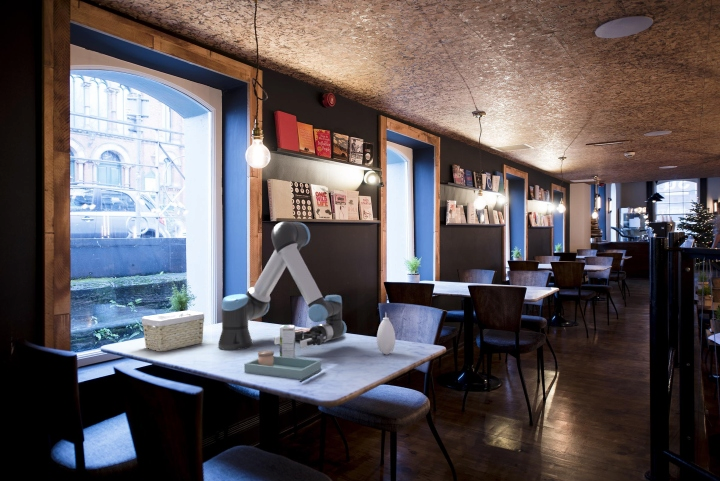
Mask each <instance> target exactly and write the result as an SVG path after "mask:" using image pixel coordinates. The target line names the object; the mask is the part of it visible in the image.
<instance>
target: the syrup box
mask: <svg viewBox="0 0 720 481" xmlns="http://www.w3.org/2000/svg"><path fill="white" fill-rule="evenodd" d="M295 329H296V325H294V324H283V325H280V327H279V336H280V343H279V356H281V357H290V358H296V340H295Z"/></svg>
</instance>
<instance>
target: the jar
mask: <svg viewBox="0 0 720 481" xmlns="http://www.w3.org/2000/svg"><path fill="white" fill-rule="evenodd" d="M257 356H258V358H257V359H258V362H259V365H264V366H273V367H274V364H273V356H275V352H274V351H273V350H261V351H258V352H257Z"/></svg>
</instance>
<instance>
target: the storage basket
mask: <svg viewBox="0 0 720 481" xmlns="http://www.w3.org/2000/svg"><path fill="white" fill-rule="evenodd" d="M204 323H205V313H204V312H200V311H199V312H198V311H194V310H193V311H192V310H183V311H182V310H181V311H176V312H175V311H174V312H169V313H161V314H154V315H146V316H145V315H144V316H142V317H141V325H142V327H143V328H142V329H143V336H144V344H145V348H146V349H148V348H149V350H153V351H155V350H156V352H168V351H170V350H176V349H179V348H180V349H181V348H184V347H185V348H186V347H189V346H194V345H198V344H202V343H203V340H204V339H203V338H204V336H203V335H204Z"/></svg>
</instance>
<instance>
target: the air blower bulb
mask: <svg viewBox="0 0 720 481" xmlns="http://www.w3.org/2000/svg"><path fill="white" fill-rule="evenodd" d="M384 314H385V317H383V318H382V320H381V322H380V324H379V326H378V330H377V333H376V344H377V347H378V348H377V349H379V351H380V352H381V353H382V354H383V355H389V354H391V352H393V351H394V349H395V346H396V333H395V329H394V327H393V324H392V322H391V321H390V318H389V317H387V312H385V313H384Z"/></svg>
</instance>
